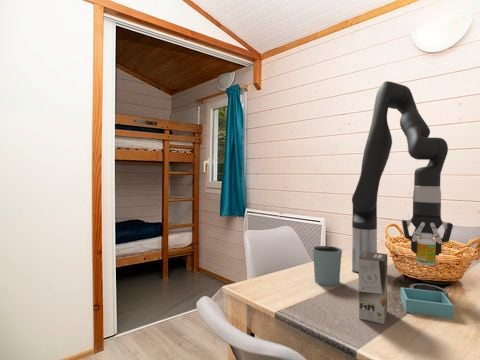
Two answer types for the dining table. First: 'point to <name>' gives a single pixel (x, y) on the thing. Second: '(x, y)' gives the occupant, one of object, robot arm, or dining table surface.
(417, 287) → the holder
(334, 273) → the teal cup
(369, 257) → the coffee box
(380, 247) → the dining table surface
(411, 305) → the tray
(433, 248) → the supplement bottle
